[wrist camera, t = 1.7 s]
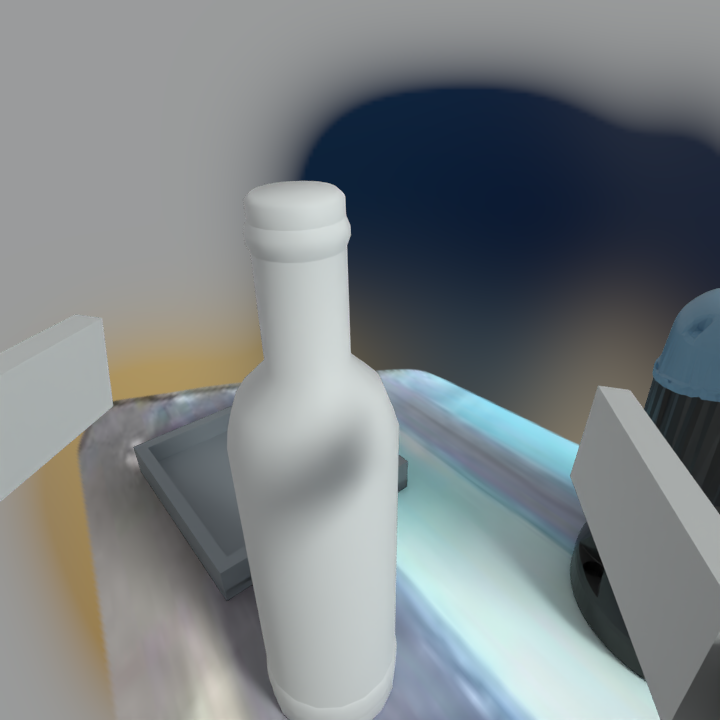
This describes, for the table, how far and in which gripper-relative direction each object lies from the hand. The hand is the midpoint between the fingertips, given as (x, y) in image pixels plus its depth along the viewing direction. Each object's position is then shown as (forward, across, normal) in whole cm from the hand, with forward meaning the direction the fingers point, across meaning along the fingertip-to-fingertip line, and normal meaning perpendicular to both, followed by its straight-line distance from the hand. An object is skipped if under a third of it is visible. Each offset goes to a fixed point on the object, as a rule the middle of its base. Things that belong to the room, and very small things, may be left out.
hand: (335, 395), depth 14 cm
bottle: (+10, 0, -26) cm, 27 cm away
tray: (+26, -10, -24) cm, 37 cm away
